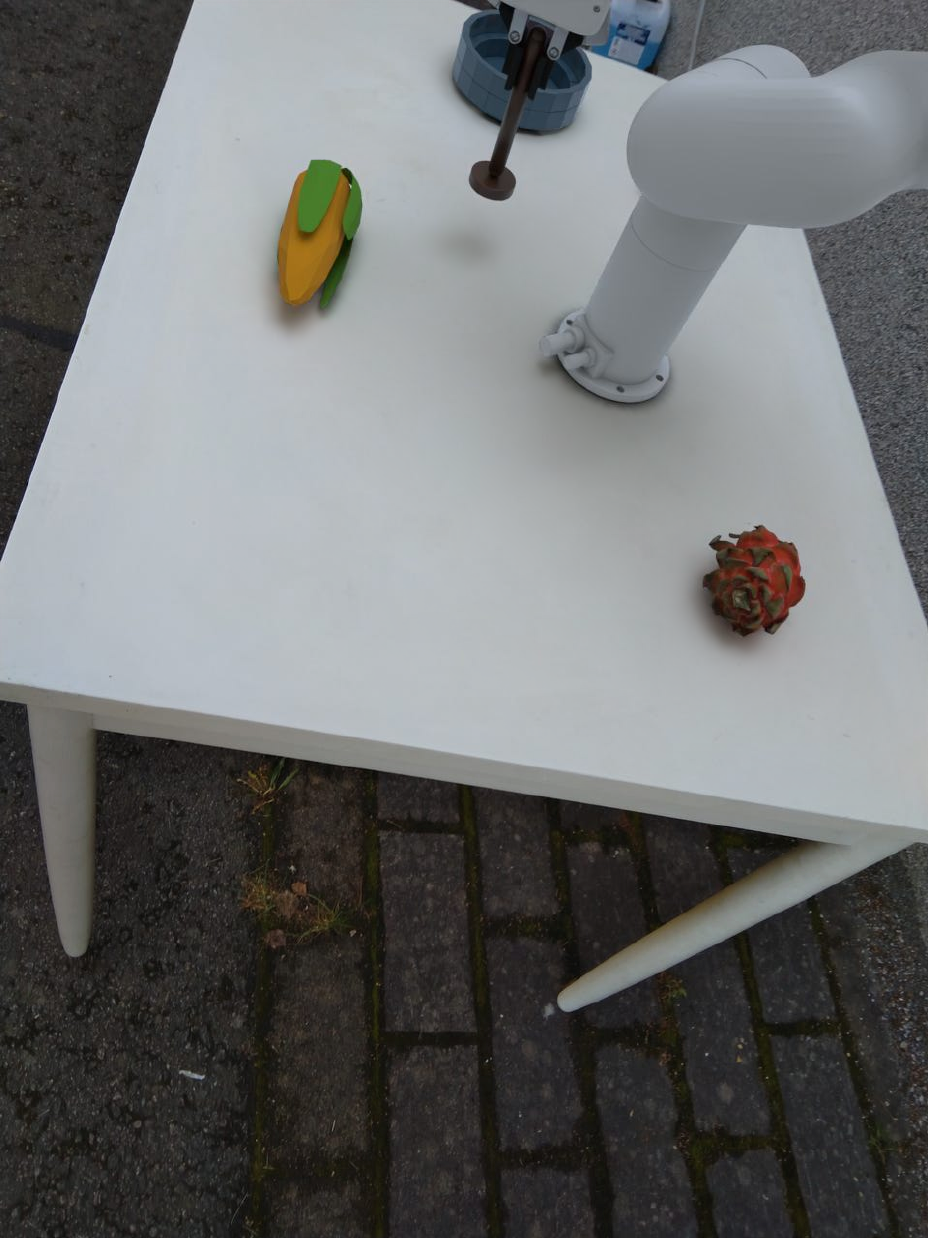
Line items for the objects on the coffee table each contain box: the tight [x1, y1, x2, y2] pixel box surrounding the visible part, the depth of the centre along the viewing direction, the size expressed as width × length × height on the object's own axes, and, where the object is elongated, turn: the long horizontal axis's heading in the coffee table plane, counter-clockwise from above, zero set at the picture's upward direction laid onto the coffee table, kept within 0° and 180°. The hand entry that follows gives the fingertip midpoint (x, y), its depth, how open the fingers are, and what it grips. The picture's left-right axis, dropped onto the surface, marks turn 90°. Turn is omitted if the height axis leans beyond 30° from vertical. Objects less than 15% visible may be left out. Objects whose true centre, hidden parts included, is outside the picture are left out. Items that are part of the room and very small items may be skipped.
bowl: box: [451, 9, 593, 131], centre depth 113 cm, size 17×17×6 cm
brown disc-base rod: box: [468, 25, 547, 202], centre depth 86 cm, size 5×5×16 cm
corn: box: [276, 159, 363, 308], centre depth 87 cm, size 7×8×20 cm
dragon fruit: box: [701, 523, 807, 638], centre depth 80 cm, size 8×8×12 cm
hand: (521, 86), depth 84 cm, fingers closed on brown disc-base rod
